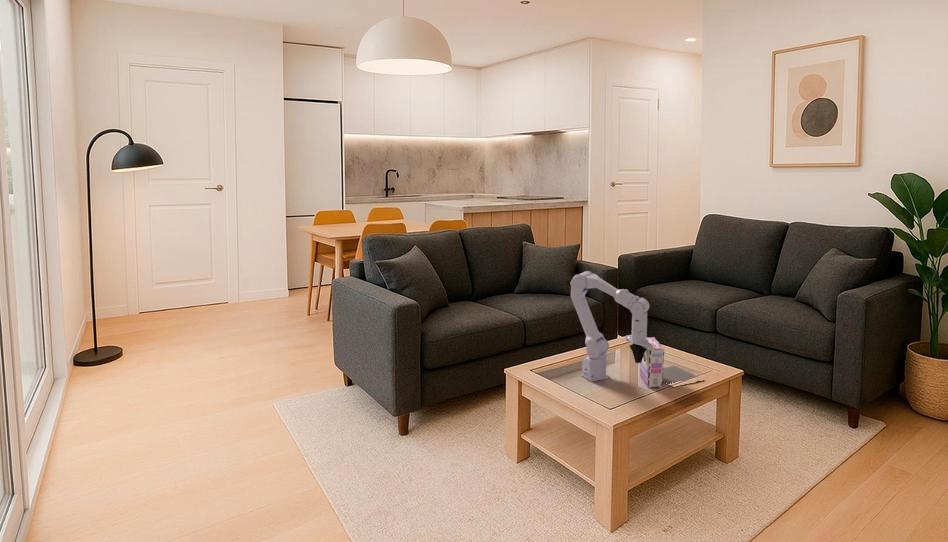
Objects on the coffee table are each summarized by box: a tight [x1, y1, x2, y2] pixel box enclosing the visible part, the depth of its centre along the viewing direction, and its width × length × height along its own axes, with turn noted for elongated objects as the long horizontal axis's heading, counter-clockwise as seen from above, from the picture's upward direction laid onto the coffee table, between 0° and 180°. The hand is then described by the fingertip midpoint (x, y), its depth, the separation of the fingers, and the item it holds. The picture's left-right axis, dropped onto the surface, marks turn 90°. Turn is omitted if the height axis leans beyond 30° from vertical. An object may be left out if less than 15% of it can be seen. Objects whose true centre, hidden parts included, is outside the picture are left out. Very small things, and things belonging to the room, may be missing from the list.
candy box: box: [639, 336, 665, 389], centre depth 242 cm, size 14×6×16 cm, turn 179°
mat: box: [662, 365, 699, 385], centre depth 248 cm, size 16×18×1 cm
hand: (638, 362), depth 239 cm, fingers closed
